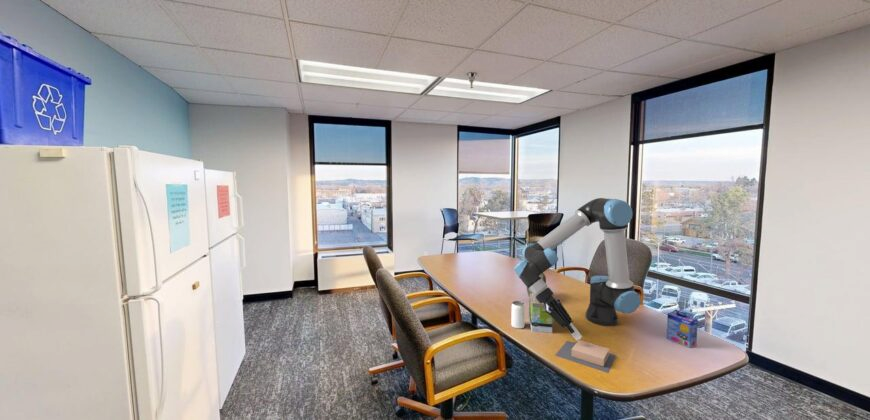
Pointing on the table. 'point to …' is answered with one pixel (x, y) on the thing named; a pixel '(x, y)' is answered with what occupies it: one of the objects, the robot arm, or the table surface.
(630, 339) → the table surface
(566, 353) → the mat
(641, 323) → the table surface
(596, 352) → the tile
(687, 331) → the ink cartridge box
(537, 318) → the tea box
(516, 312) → the can
